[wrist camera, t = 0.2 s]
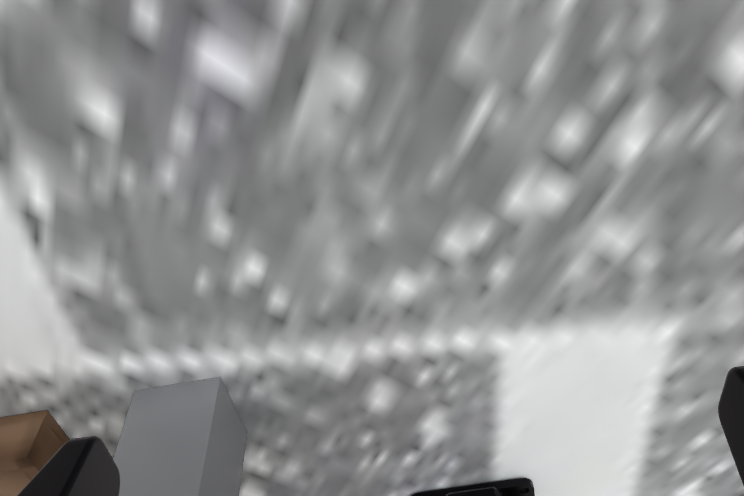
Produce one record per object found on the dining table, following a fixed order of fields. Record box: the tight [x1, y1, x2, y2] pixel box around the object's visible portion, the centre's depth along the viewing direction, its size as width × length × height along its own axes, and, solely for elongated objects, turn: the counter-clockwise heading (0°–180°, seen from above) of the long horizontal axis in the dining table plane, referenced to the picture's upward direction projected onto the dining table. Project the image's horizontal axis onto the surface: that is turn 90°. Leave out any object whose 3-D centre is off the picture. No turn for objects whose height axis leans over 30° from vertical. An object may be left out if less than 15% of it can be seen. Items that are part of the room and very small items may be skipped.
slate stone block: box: [113, 377, 247, 496], centre depth 29 cm, size 4×4×6 cm
